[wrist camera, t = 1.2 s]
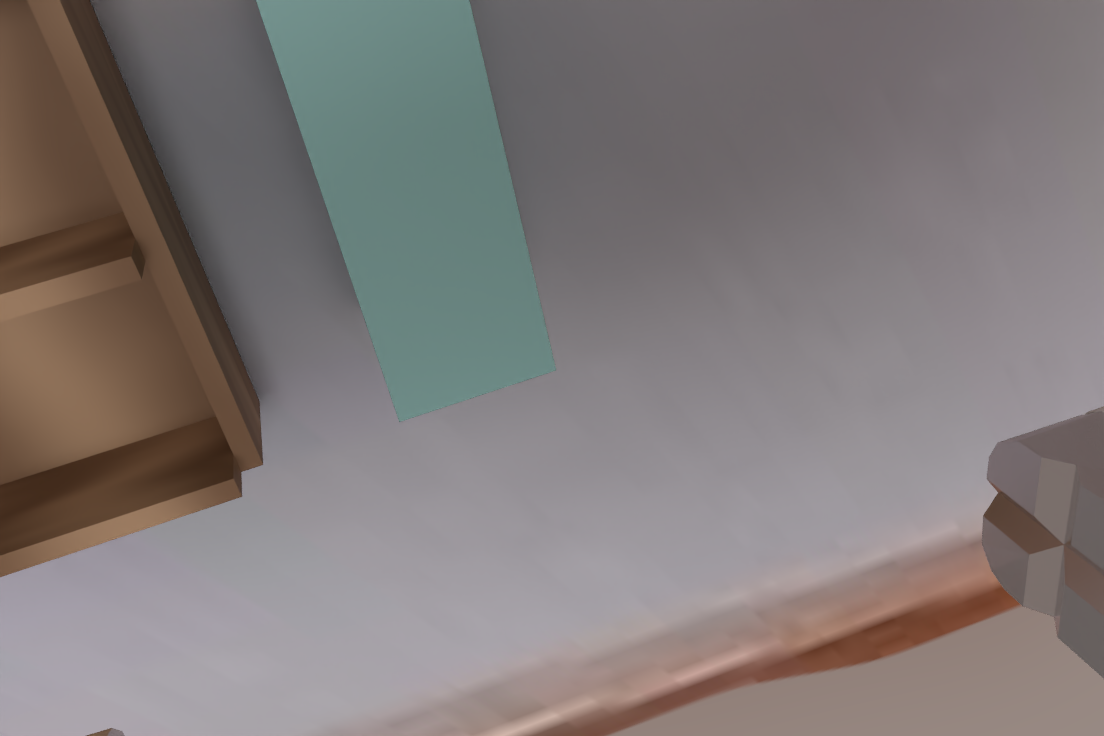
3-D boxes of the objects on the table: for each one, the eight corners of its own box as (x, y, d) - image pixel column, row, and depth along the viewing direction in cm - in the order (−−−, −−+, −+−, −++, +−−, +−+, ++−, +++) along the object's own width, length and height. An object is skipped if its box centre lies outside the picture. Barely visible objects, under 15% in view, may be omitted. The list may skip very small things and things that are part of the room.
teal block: (401, -83, 25) (455, -60, 19) (491, 266, 30) (556, 370, 24) (246, -45, 25) (253, -8, 19) (364, 306, 30) (399, 421, 24)
